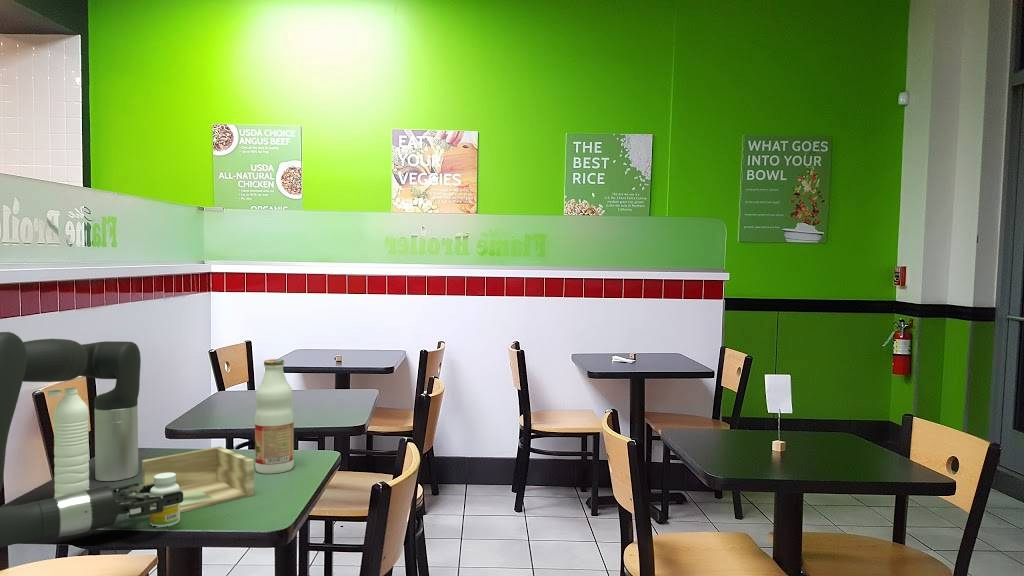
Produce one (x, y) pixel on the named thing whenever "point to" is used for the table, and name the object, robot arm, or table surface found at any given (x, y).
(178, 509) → the supplement bottle
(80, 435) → the water bottle
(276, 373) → the fruit juice
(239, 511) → the table surface
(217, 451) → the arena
